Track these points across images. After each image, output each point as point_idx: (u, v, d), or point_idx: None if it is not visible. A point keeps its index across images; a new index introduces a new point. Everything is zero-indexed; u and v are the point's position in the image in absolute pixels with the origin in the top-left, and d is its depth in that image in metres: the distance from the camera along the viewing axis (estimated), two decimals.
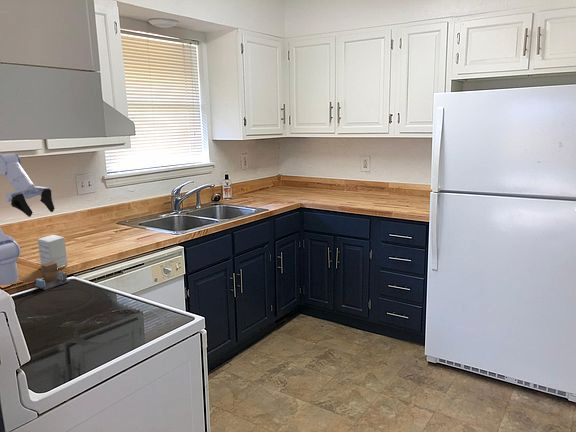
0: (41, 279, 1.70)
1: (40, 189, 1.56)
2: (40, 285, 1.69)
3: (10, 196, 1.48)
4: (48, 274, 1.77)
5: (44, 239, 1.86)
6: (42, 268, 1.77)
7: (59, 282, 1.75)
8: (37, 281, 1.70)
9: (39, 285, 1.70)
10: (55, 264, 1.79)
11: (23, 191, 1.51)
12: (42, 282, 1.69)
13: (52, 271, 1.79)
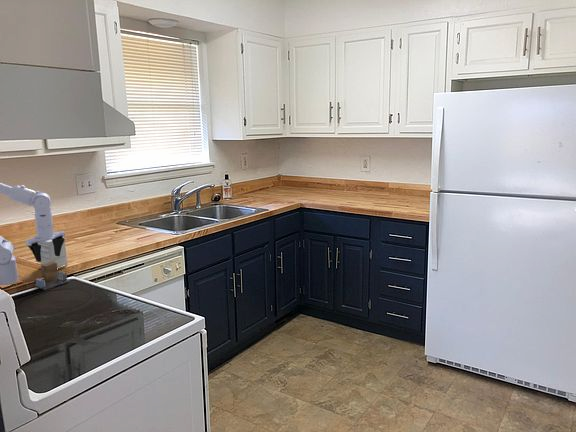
0: (41, 279, 1.70)
1: None
2: (40, 285, 1.69)
3: (30, 244, 1.70)
4: (48, 274, 1.77)
5: None
6: (42, 268, 1.77)
7: (59, 282, 1.75)
8: (37, 281, 1.70)
9: (39, 285, 1.70)
10: (55, 264, 1.79)
11: None
12: (42, 282, 1.69)
13: (52, 271, 1.79)
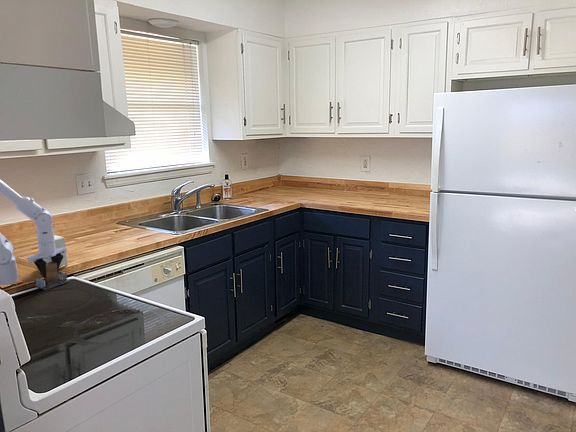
0: (41, 279, 1.70)
1: None
2: (40, 285, 1.69)
3: (32, 261, 1.72)
4: (48, 274, 1.77)
5: None
6: None
7: (59, 282, 1.75)
8: (37, 281, 1.70)
9: (39, 285, 1.70)
10: (55, 264, 1.79)
11: None
12: (42, 282, 1.69)
13: (52, 271, 1.79)
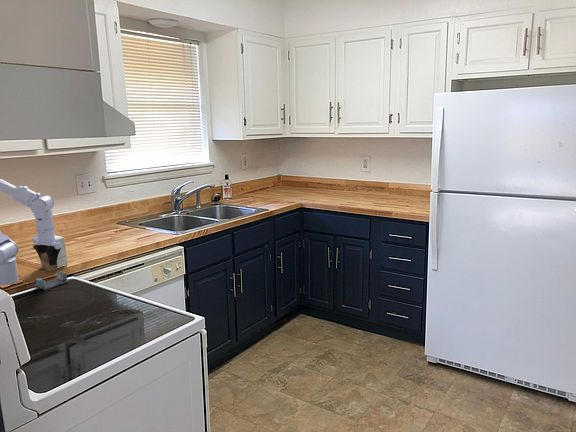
0: (41, 279, 1.70)
1: None
2: (40, 285, 1.69)
3: (33, 241, 1.72)
4: (42, 262, 1.71)
5: None
6: None
7: (59, 282, 1.75)
8: (37, 281, 1.70)
9: (39, 285, 1.70)
10: (47, 256, 1.69)
11: None
12: (42, 282, 1.69)
13: (45, 261, 1.70)
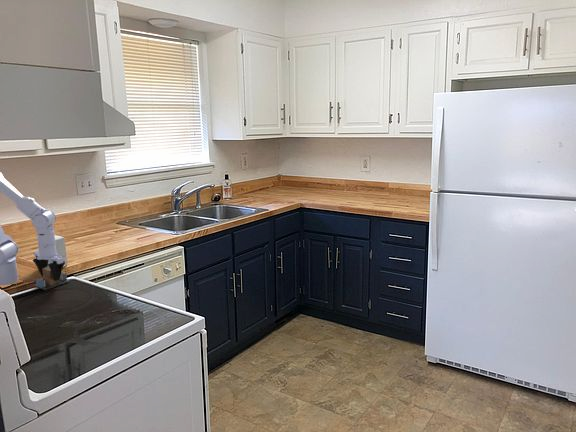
0: (41, 279, 1.70)
1: None
2: (40, 285, 1.69)
3: (35, 255, 1.74)
4: (44, 277, 1.73)
5: None
6: None
7: (59, 282, 1.75)
8: (37, 281, 1.70)
9: (39, 285, 1.70)
10: (48, 271, 1.71)
11: None
12: (42, 282, 1.69)
13: (47, 276, 1.72)
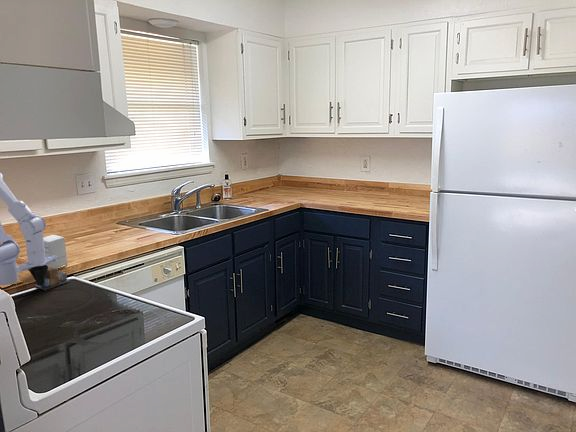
0: (45, 278, 1.72)
1: None
2: (44, 283, 1.71)
3: (20, 270, 1.62)
4: None
5: (44, 239, 1.86)
6: None
7: (59, 282, 1.75)
8: None
9: (43, 284, 1.71)
10: (48, 271, 1.71)
11: None
12: (46, 281, 1.70)
13: (47, 276, 1.72)
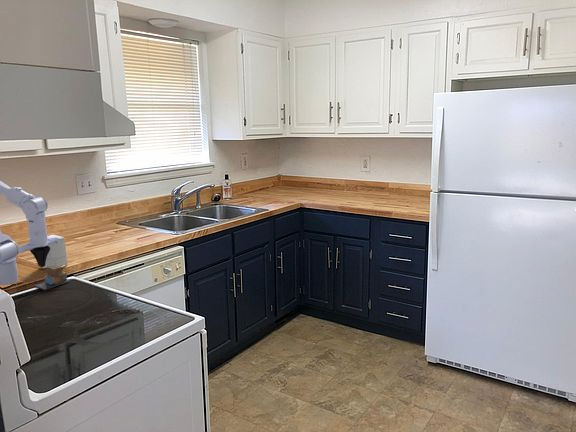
0: (50, 276, 1.73)
1: None
2: (49, 282, 1.72)
3: (22, 251, 1.62)
4: None
5: None
6: None
7: None
8: (46, 278, 1.73)
9: (48, 282, 1.73)
10: (53, 270, 1.72)
11: None
12: (51, 279, 1.72)
13: (51, 275, 1.73)
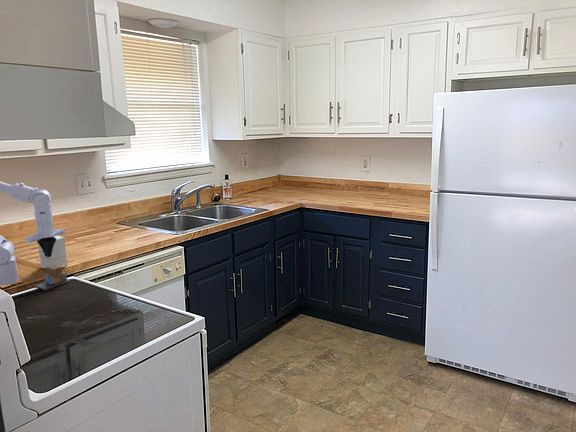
0: (50, 276, 1.73)
1: None
2: (49, 282, 1.72)
3: (30, 241, 1.69)
4: None
5: None
6: None
7: None
8: (46, 278, 1.73)
9: (48, 282, 1.73)
10: (53, 270, 1.72)
11: None
12: (51, 279, 1.72)
13: (51, 275, 1.73)
